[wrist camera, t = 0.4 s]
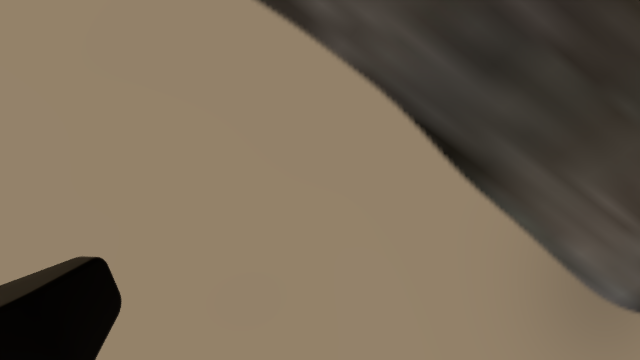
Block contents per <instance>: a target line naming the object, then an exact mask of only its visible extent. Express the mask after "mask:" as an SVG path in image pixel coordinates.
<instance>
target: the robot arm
mask: <svg viewBox="0 0 640 360" xmlns="http://www.w3.org/2000/svg"><path fill="white" fill-rule="evenodd" d="M120 308H121V295H120V292H119V290H118V288H117V285H116V283H115V281H114V278H113V276H112V274H111V271H110V269H109V267H108V264H107V263H106V262H105V261H104V260H103V259H102V258H100V257H76V258H74V259H71V260H68V261H65V262H63V263H60V264H57V265H54V266H52V267H49V268H46V269H44V270H41V271H38V272H36V273H33V274H30V275H27V276H25V277H22V278H19V279H17V280H14V281H11V282H9V283H6V284H3V285H1V286H0V360H95V359H96V357H97V355H98V353H99V351H100V349H101V347H102V345H103V343H104V341H105V339H106V338H107V336H108V334H109V332H110V330H111V328H112V326H113V324H114V322H115V320H116V318H117V316H118V314H119V312H120Z"/></svg>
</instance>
